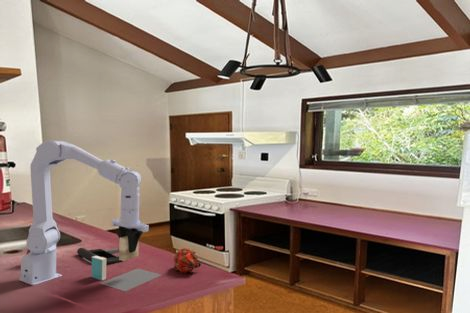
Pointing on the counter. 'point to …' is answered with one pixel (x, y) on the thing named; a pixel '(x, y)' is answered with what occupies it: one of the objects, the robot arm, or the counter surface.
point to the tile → (99, 267)
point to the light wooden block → (126, 249)
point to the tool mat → (130, 279)
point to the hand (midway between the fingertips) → (129, 251)
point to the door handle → (100, 255)
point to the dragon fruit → (186, 261)
